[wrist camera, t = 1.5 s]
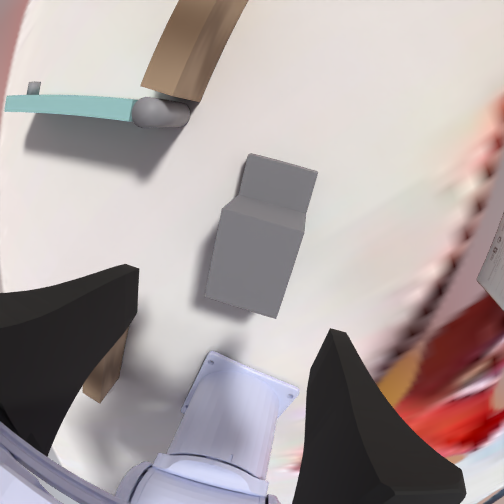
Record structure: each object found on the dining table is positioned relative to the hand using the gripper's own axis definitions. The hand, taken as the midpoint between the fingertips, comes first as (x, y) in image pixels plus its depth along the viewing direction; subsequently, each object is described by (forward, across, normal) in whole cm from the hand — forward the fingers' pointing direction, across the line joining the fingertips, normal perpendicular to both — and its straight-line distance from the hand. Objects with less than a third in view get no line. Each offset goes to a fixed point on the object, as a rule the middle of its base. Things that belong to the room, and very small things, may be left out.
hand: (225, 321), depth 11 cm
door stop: (+10, 0, -1) cm, 10 cm away
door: (+10, +13, -6) cm, 17 cm away
